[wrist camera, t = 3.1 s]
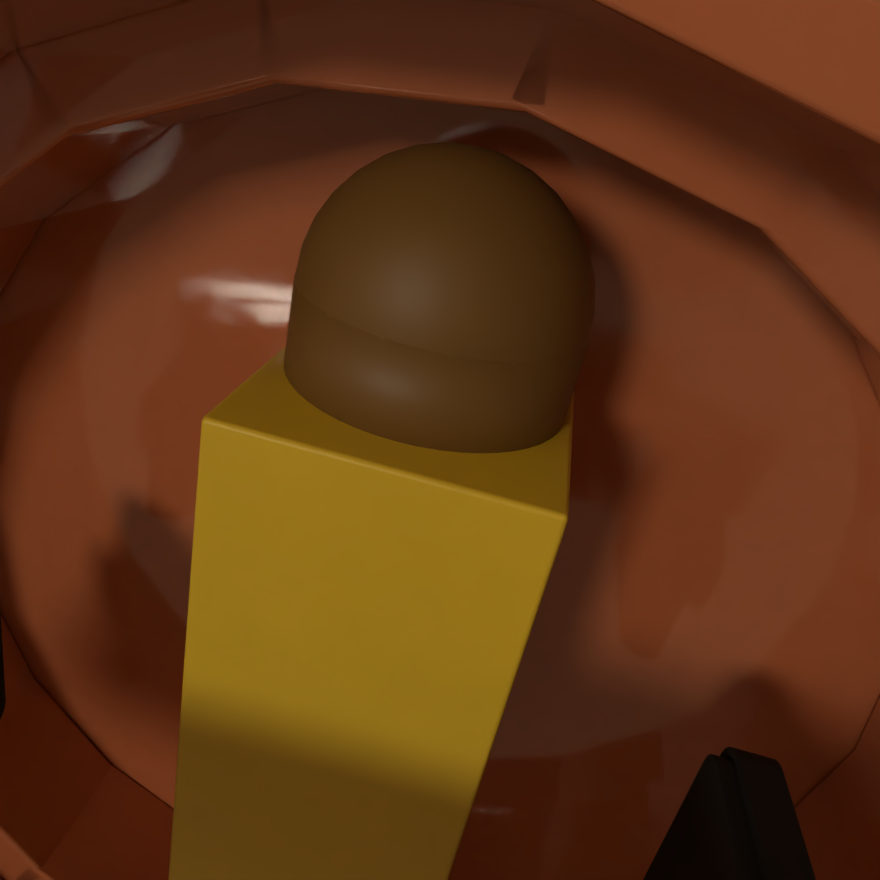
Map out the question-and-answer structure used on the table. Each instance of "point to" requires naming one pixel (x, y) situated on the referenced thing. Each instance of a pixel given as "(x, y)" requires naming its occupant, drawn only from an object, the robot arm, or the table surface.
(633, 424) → the terracotta plant saucer
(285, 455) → the yellow bar
